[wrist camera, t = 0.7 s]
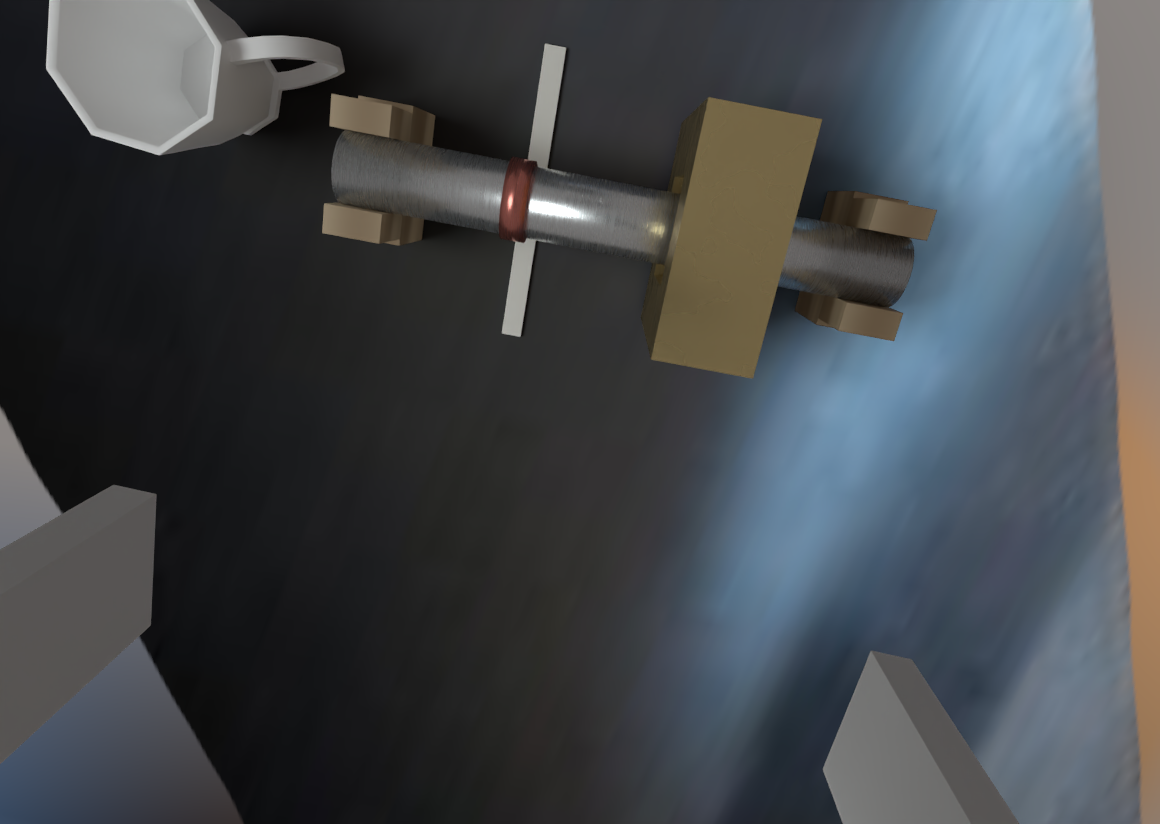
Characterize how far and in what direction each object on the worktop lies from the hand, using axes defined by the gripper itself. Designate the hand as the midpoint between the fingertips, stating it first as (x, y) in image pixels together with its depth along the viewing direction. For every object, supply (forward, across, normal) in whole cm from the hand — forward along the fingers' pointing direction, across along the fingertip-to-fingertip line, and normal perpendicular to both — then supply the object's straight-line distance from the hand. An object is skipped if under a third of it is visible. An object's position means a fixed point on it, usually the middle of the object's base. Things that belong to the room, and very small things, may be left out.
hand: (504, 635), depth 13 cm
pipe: (+22, +1, +7) cm, 23 cm away
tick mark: (+26, -4, +7) cm, 27 cm away
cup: (+26, -17, +10) cm, 32 cm away
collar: (+26, +5, +7) cm, 27 cm away
